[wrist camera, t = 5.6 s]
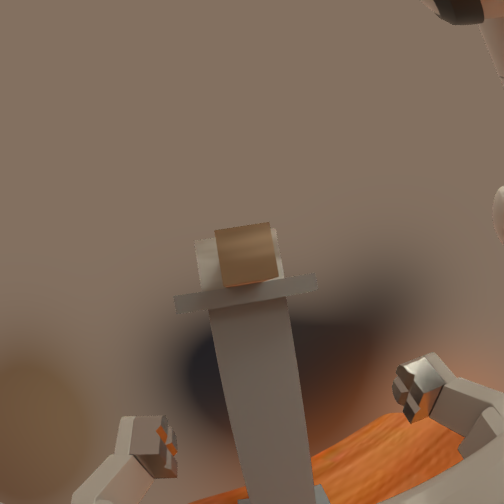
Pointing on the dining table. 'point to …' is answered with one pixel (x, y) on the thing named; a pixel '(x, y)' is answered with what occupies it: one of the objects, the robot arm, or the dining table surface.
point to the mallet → (239, 257)
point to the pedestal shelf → (262, 386)
